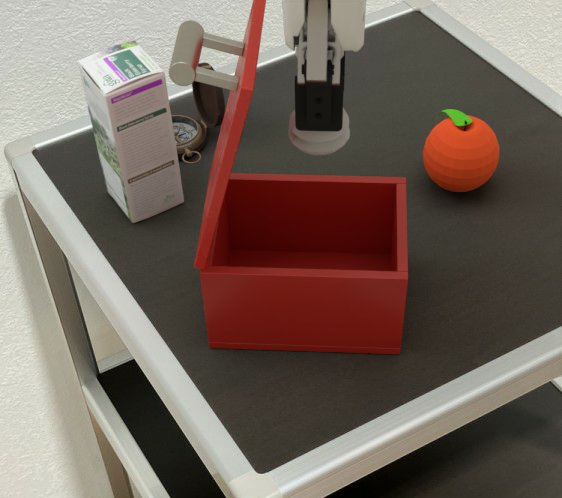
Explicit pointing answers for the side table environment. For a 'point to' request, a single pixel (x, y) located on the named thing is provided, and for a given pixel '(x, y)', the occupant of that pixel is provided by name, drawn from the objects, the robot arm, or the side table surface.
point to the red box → (308, 264)
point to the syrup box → (133, 129)
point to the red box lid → (236, 110)
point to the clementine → (460, 152)
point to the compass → (211, 112)
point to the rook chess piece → (319, 139)
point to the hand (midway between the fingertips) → (320, 107)
